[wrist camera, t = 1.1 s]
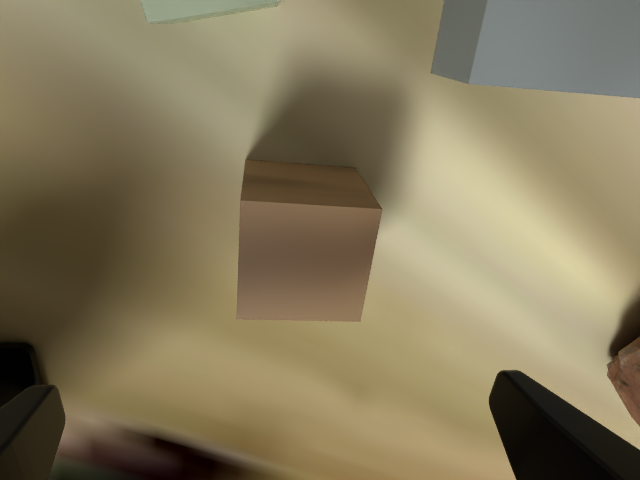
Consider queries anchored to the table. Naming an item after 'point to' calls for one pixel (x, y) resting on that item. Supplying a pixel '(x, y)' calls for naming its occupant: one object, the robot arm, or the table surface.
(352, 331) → the table surface
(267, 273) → the walnut cube
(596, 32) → the base block
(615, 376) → the decorative rock
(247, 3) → the sage block
